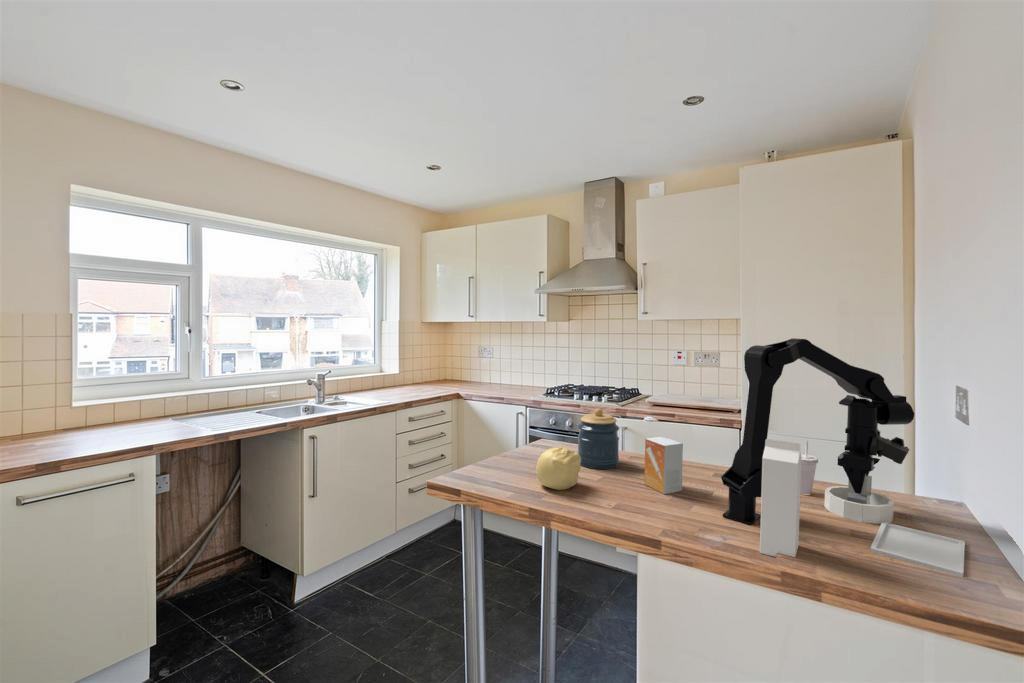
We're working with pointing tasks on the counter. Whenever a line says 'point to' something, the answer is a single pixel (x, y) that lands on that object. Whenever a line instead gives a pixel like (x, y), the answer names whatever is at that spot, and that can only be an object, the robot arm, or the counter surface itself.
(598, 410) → the canister
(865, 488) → the grey block
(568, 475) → the dough ball
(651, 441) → the small box
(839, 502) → the bowl
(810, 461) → the smoothie
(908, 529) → the tray
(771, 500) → the milk
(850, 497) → the grey block
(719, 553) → the counter surface
